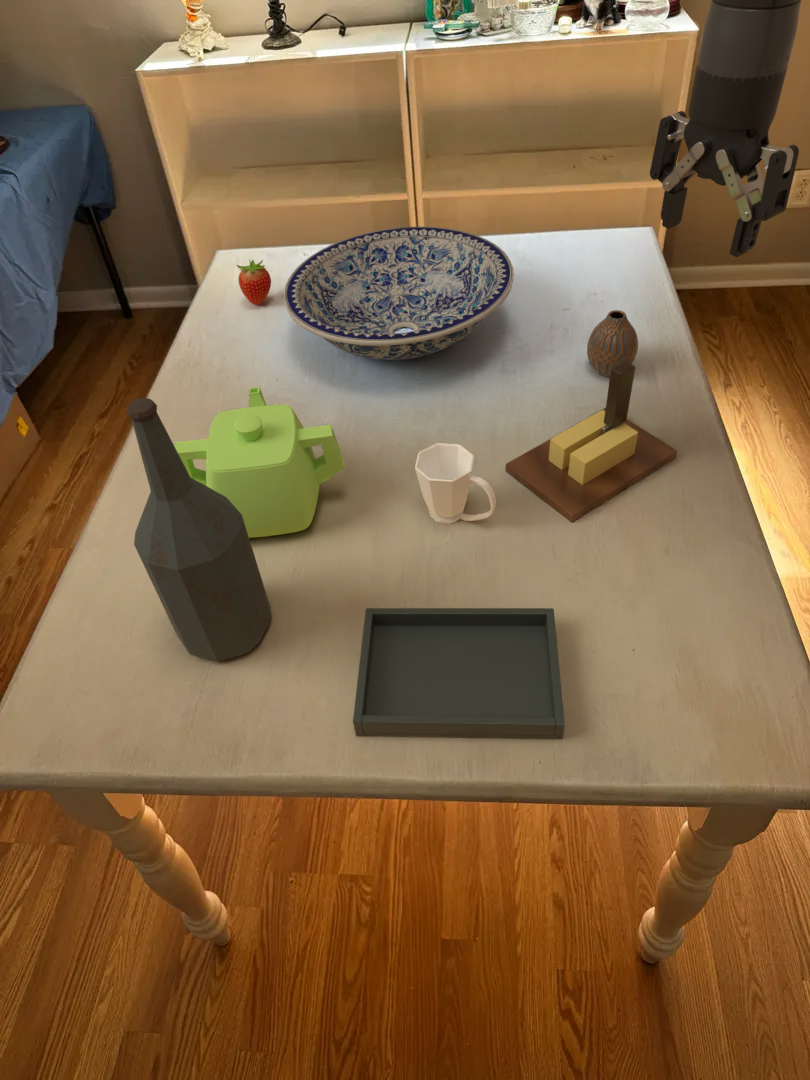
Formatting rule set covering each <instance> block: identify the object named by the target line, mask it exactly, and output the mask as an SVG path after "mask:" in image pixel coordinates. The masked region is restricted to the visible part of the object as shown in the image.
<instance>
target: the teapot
mask: <svg viewBox="0 0 810 1080" xmlns="http://www.w3.org/2000/svg"><path fill="white" fill-rule="evenodd" d="M173 445H174V446H175V448H176V450H177V452H178V454H179V456H180V458H181V460H182V462H183V464H184V466H185V468H186V470H187V472H188V474H189V476H190V477H191V478H193V479H194V480H196V481H198V482H200V483H202V484H203V485H205V486H207V487H209V488H211V489H212V490H214V491H216V492H218V493H220V494H222V495H223V496H225V497H227V499H228V500H229V501H230V502H231V503H232V504H233V505H234V506H235V508H236V509H237V510H238V511H239V512H240V513H241V514H242V517H243V521H244V524H245V527H246V530H247V533H248V537H249V539H251V538H263V537H272V536H280V535H285V534H286V535H287V534H292V533H297V532H302V531H304V530H306V529H308V528H309V527H310V525H311V523H312V521H313V519H314V515H315V512H316V508H317V503H318V499H319V493H320V485H322V484H323V483H324V482H326V481H327V480H329V479H331V478H332V477H334V476H335V475H336V474H338V473H340V472H341V471H343V470H344V469H345V464H344V456H343V453H342V450H341V448H340V445H339V442H338V439H337V437H336V434H335V431H334V429H333V426H332V424H325V425H317V426H310V427H309V426H308V427H304V425H303V424H302V422H301V421H300V419H299V417H298V416H297V414H296V412H295V411H294V409H293V408H292V406H291V405H289V404H270V405H268V404H267V403H266V400H265V397H264V394H263V392H262V389H261V386H254V387H249V388H248V407H243V408H235V409H229V410H223V411H219V412H218V413H217V414H216V415H215V416H214V418H213V420H212V421H211V426H210V427H209V431H208V437H207V438H203V439H193V440H192V439H191V440H180V441H174V442H173ZM317 446H321V449H322V453H323V454H322V455H320V456H319V457H317V458H316V457H315V453H314V449H313V447H317ZM194 460H205V470H204V469H201V468H198V467H195V463H194Z"/></svg>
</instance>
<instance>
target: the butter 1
mask: <svg viewBox="0 0 810 1080" xmlns="http://www.w3.org/2000/svg"><path fill="white" fill-rule="evenodd" d="M597 412H598V413H597ZM597 412H596V414H595V413H594V414H592V415H590V416H591V417H590V416H588V417H589V418H588V417H587V418H585V419H583V420H584V421H583V420H581V421H582V422H581V421H580V423H579V422H578V423H576V424H574V425H575V426H574V425H572V426H573V427H572V426H570V427H569V428H567V429H568V430H567V429H565V430H566V431H565V430H564V432H563V431H562V432H560V433H561V434H560V433H559V435H558V434H556V435H557V436H556V435H555V436H553V437H551V438H552V439H551V438H549V439H550V450H549V461H550V462H551V463H553V464H554V465H556V466H557V467H558V468H560V469H561V470H564V469H565V468H567V467H569V462H570V453H572V452H574V451H575V450H577V449H579V448H581V447H582V446H584V445H586V444H587V443H589V442H591V441H593V440H594V439H596V438H598V437H599V436H601V434H602V428H603V427H605V426H607V425H606V424H605V423H604V416H605V411H604V410H602V409H601V410H599V411H597Z"/></svg>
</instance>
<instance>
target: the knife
mask: <svg viewBox="0 0 810 1080" xmlns="http://www.w3.org/2000/svg"><path fill="white" fill-rule="evenodd" d="M635 372H636V366H635V365H633V364H630V363H628V362H627V361H625V362H623V363H621V364H619V365H617V366H615V367H613V368H612V369H611V375H610V377H609V382H608V389H607V397H606V404H605V408H606V409H605V416H604V423H605V424H606V425H607V426H605V427H603V428H602V434H601V435H603V434H605V433H606V432H608V431H610V430H612V429H613V428H615V427H617V426H618V425H620V424H622V423H625V424H626V421H627V419H628V413H629V408H630V403H631V396H632V390H633V384H634V378H635V374H636V373H635Z"/></svg>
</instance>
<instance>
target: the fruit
mask: <svg viewBox="0 0 810 1080" xmlns="http://www.w3.org/2000/svg"><path fill="white" fill-rule="evenodd" d="M263 262H264V259H262V260H261V261H260V262H258V263H255V261H254V259H252V260H251V259H249V265H239V264H236V267H237V269H238V270H239V271H240V272H239V274H238V286H239V287H240V290H241V292H242V294H243V295H244V297H245V298H246V300H247V301H249V302H250V303H251V304H252V305H254V306H258V305H261V304H263V303H264V302H265V300H266V299H267V297H268V295H269V293H270V291H271V287H272V278H271V274H270V273H269V271H268V270H267V268H265V267H266V265H265V264H264V265H263V264H262V263H263ZM261 264H262V265H261Z"/></svg>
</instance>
